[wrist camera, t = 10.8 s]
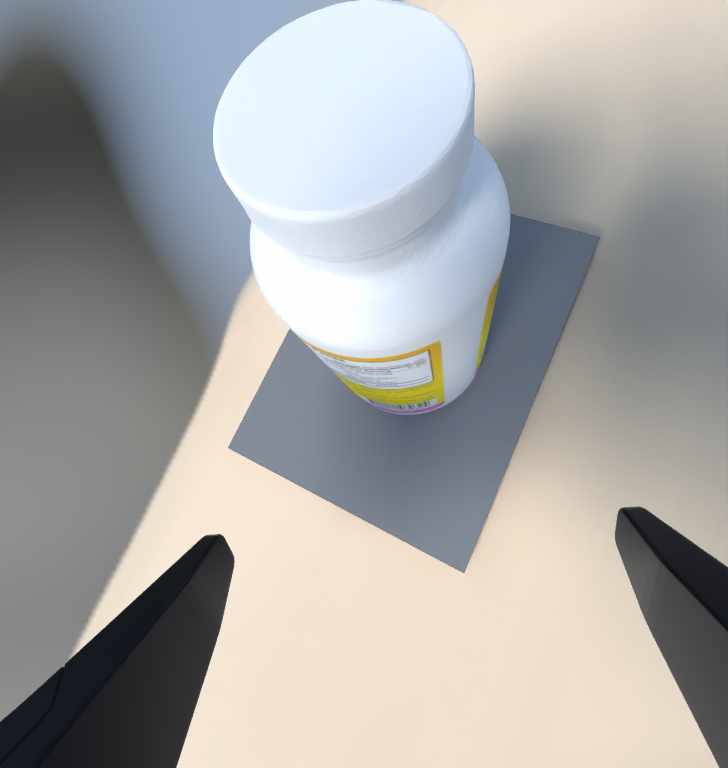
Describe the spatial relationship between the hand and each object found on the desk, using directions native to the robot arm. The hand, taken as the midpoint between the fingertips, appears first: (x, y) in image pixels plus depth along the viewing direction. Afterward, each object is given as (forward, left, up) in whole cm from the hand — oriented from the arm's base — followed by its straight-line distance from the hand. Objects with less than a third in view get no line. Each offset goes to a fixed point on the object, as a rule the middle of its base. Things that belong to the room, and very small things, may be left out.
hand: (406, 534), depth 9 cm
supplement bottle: (+7, -1, -8) cm, 11 cm away
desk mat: (+8, -1, -9) cm, 12 cm away
